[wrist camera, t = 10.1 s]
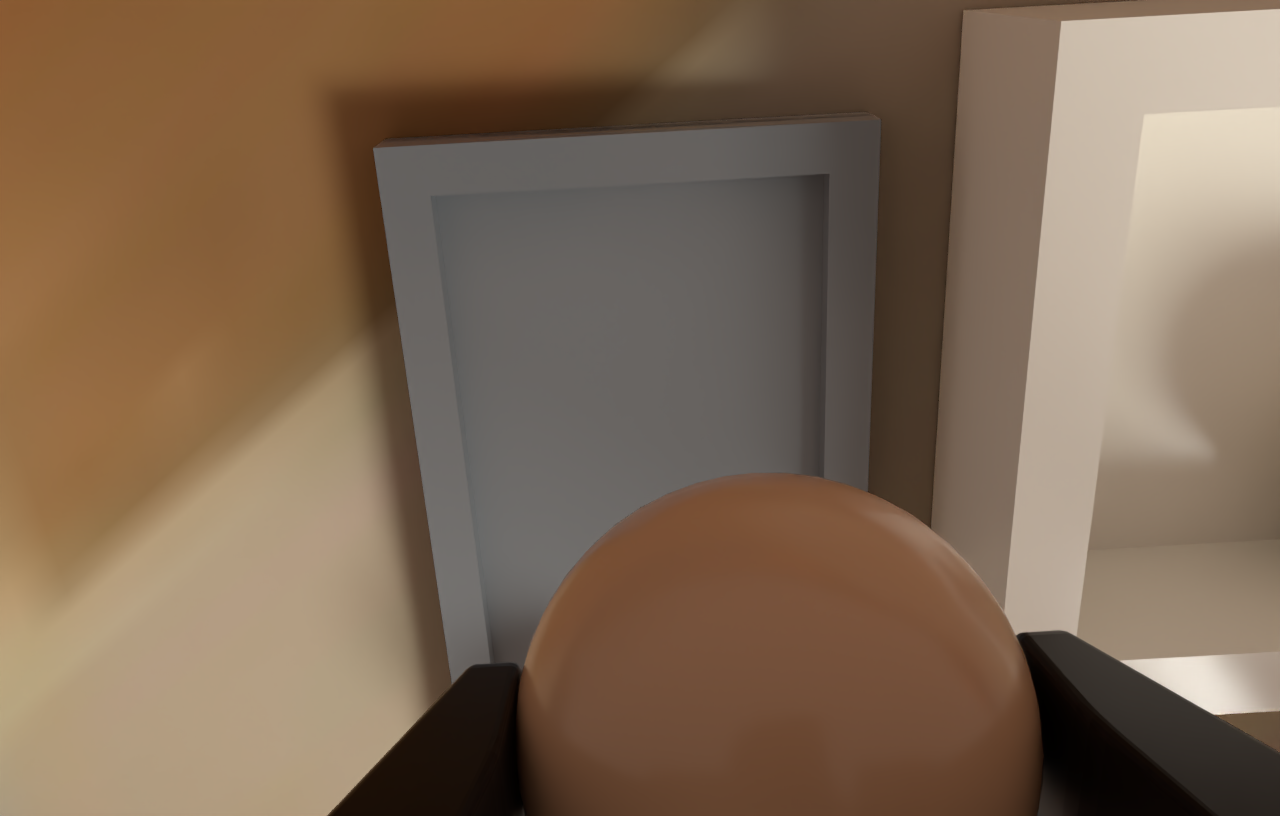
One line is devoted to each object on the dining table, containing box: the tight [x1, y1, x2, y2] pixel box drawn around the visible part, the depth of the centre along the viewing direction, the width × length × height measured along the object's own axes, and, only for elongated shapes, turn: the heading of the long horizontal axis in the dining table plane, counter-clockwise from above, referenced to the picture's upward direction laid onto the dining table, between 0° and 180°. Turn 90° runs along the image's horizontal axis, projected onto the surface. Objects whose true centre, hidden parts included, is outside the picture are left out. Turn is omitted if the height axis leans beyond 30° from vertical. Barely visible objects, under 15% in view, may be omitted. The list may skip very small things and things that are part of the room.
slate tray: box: [373, 112, 881, 684], centre depth 20 cm, size 16×8×1 cm, turn 3°
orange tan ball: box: [515, 473, 1044, 816], centre depth 8 cm, size 4×4×4 cm
